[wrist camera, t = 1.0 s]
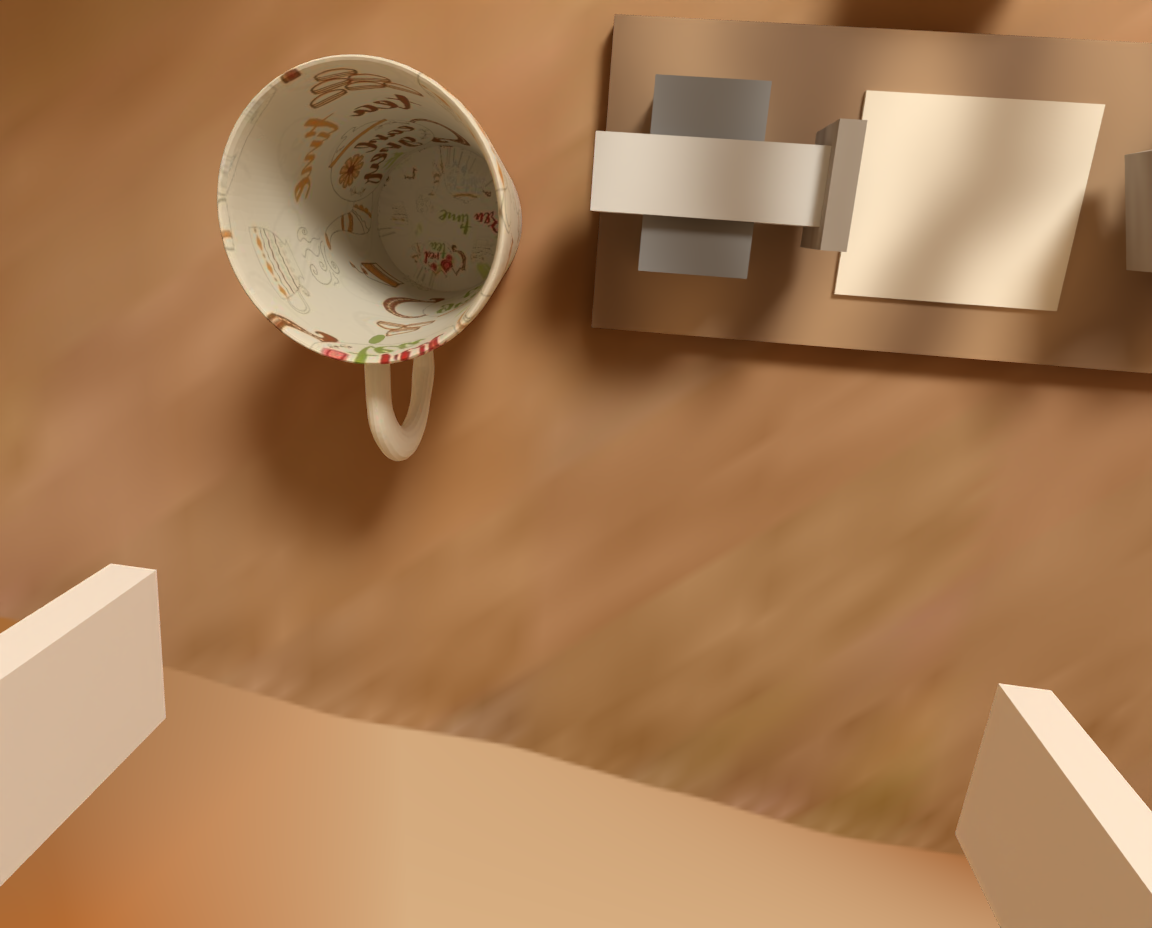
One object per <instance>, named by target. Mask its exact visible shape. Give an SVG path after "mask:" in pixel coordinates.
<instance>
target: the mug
mask: <svg viewBox="0 0 1152 928" xmlns="http://www.w3.org/2000/svg"><path fill="white" fill-rule="evenodd" d="M217 208H218V220H219V226H220V232H221V236H222V240H223V244H224V248H225V251H226V253H227V256H228V259H229V261H230V264H231V267H232V269H233V271H234V273H235V275H236V277H237V279H238V281H239V282H240V284H241V286H242V287H243V289H244V291H245V292H246V294H247V295H248V297H249V298H250V299H251V301H252V302H253V304H254V305H255V306H256V307H257V308H258V310H259V311H260V312H261V313H262V314H263V315H264V316H265V317H266V318H267V319H268V320H269V321H270V322H271V323H272V324H273V325H274V326H275V327H276V328H278V329H279V330H280V331H281V332H282V333H284V334H285V335H286V336H288V337H289V338H291V339H292V340H294V341H295V342H297V343H298V344H300V345H302V346H304V347H306V348H307V349H309V350H312V351H314V352H316V353H318V354H321V355H323V356H326V357H329V358H332V359H336V360H340V361H345V362H349V363H357V364H364V370H365V390H366V404H367V414H368V421H369V426H370V430H371V433H372V435H373V437H374V440H375V442H376V443H377V445H378V447H379V448H380V450H381V451H382V452H383V454H384V455H385V456H386V457H388V458H389V459H391V460H394V461H402V460H406V459H407V458H409V457H410V456H411V455H412V454H413V453H414V452H415V451H416V449H417V447H418V446H419V444H420V441H421V439H422V436H423V433H424V431H425V427H426V423H427V419H428V414H429V407H430V399H431V393H432V388H433V382H434V370H435V367H434V352H433V350H435V349H437V348H438V347H440V346H442V345H444V344H445V343H447V342H448V341H450V340H451V339H453V338H454V337H455V336H456V335H458V334H459V333H460V332H461V331H462V330H463V329H464V328H466V327H467V326H468V325H469V324H470V323H471V322H472V321H473V320H474V319H475V317H476V316H477V315H478V314H479V312H480V311H481V310H482V309H483V307H484V306H485V305H486V303H487V302H488V300H489V298H490V297H491V295H492V294H493V292H494V290H495V289H496V287H497V285H498V284H499V282H500V280H501V279H502V277H503V276H504V274H505V272H506V271H507V269H508V267H509V266H510V264H511V262H512V260H513V258H514V256H515V254H516V251H517V249H518V245H519V242H520V237H521V230H522V213H521V206H520V201H519V197H518V194H517V191H516V189H515V186H514V184H513V182H512V180H511V178H510V176H509V174H508V172H507V171H506V169H505V167H504V165H503V163H502V162H501V160H500V158H499V156H498V154H497V153H496V151H495V149H494V147H493V146H492V144H491V142H490V140H489V139H488V137H487V135H486V133H485V132H484V131H483V129H482V128H481V126H480V125H479V123H478V122H477V121H476V119H475V118H474V117H473V116H472V114H471V113H470V112H469V111H468V110H467V109H466V107H465V106H464V105H463V104H462V103H461V102H460V101H459V100H458V99H457V98H456V97H455V96H453V95H452V94H451V93H450V92H449V91H448V90H447V89H445V88H444V87H443V86H441V85H440V84H439V83H437V82H436V81H434V80H433V79H431V78H429V77H428V76H426V75H425V74H423V73H421V72H419V71H417V70H415V69H413V68H411V67H409V66H406V65H404V64H401V63H399V62H396V61H393V60H389V59H385V58H381V57H375V56H369V55H353V54H348V55H335V56H328V57H323V58H319V59H315V60H311V61H309V62H306V63H303V64H300V65H298V66H296V67H294V68H292V69H290V70H288V71H286V72H285V73H283V74H282V75H280V76H278V77H277V78H275V79H274V80H273V81H271V82H270V83H269V84H268V85H267V86H265V87H264V88H263V89H262V90H261V91H260V92H259V93H258V94H257V95H256V96H255V97H254V98H253V99H252V100H251V102H250V103H249V104H248V106H247V107H246V108H245V109H244V111H243V112H242V114H241V116H240V117H239V119H238V120H237V122H236V124H235V126H234V128H233V130H232V132H231V134H230V136H229V139H228V141H227V144H226V147H225V149H224V153H223V157H222V160H221V164H220V170H219V176H218V188H217ZM413 358H414V361H413V371H412V391H411V400H410V405H409V409H408V413H407V416H406V418H405V420H404V422H403V424H402V425H401V426H400V425H399V423H398V421H397V419H396V417H395V414H394V411H393V406H392V396H391V374H390V364H391V363H397V362H402V361H406V360H410V359H413Z"/></svg>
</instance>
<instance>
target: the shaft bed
mask: <svg viewBox="0 0 1152 928" xmlns="http://www.w3.org/2000/svg"><path fill="white" fill-rule="evenodd" d="M590 210H591V211H595V212H600V218H599V232H598V245H597V259H596V272H595V285H594V299H593V312H592V326H591V327H592V328H604V329H616V330H628V331H640V332H652V333H665V334H677V335H689V336H701V337H713V338H725V339H737V340H750V341H762V342H774V343H786V344H798V345H810V346H823V347H835V348H847V349H859V350H871V351H883V352H895V353H908V354H920V355H932V356H944V357H956V358H968V359H980V360H993V361H1005V362H1017V363H1029V364H1041V365H1053V366H1065V367H1078V368H1090V369H1102V370H1114V371H1126V372H1138V373H1151V374H1152V43H1144V42H1125V41H1107V40H1088V39H1069V38H1051V37H1032V36H1013V35H995V34H976V33H957V32H939V31H920V30H901V29H883V28H864V27H845V26H827V25H808V24H790V23H771V22H752V21H734V20H715V19H696V18H678V17H659V16H640V15H622V14H615V17H614V31H613V44H612V57H611V71H610V84H609V98H608V111H607V125H606V131H596V137H595V151H594V165H593V179H592V193H591V207H590Z"/></svg>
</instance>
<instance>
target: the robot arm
mask: <svg viewBox="0 0 1152 928" xmlns="http://www.w3.org/2000/svg"><path fill="white" fill-rule="evenodd" d="M165 718H166V714H165V697H164V682H163V665H162V649H161V633H160V617H159V601H158V584H157V570H154V569H146V568H139V567H132V566H124V565H117V564H110V565H108V566H106V567H105V568H103V569H102V570H100V571H98V572H97V573H95V574H94V575H92V576H91V577H89V578H87V579H86V580H84V581H83V582H81V583H80V584H78V585H76V586H75V587H73V588H72V589H70V590H68V591H67V592H65V593H64V594H62V595H61V596H59V597H57V598H56V599H54V600H53V601H51V602H50V603H48V604H46V605H45V606H43V607H42V608H40V609H39V610H37V611H35V612H34V613H32V614H31V615H29V616H27V617H26V618H24V619H23V620H21V621H20V622H18V623H16V624H15V625H13V626H12V627H10V628H9V629H7V630H5V631H4V632H2V633H1V634H0V886H1V885H2V884H3V883H4V882H5V881H6V880H7V879H8V878H9V877H10V876H11V875H12V874H13V873H14V872H15V871H16V870H17V869H18V868H19V867H20V866H21V864H23V863H24V862H25V861H26V860H27V859H28V858H29V857H30V855H32V854H33V852H34V851H36V849H37V848H38V847H39V846H40V845H41V844H42V843H43V842H44V841H45V840H46V839H47V838H48V837H49V836H50V835H51V834H52V833H53V832H54V831H55V830H56V829H57V828H58V827H59V826H60V825H61V824H62V823H63V822H64V821H65V820H66V819H67V818H68V817H69V816H70V815H71V814H72V813H73V812H74V811H75V810H76V809H77V808H78V807H79V806H80V805H81V804H82V803H83V802H84V801H85V800H86V799H87V798H88V796H90V794H92V792H93V791H94V790H95V789H96V788H97V787H98V786H99V785H100V784H101V783H102V782H103V781H104V780H105V779H106V778H107V777H108V776H109V775H110V774H111V773H112V772H113V771H114V770H115V769H116V768H117V767H118V766H119V765H120V764H121V763H122V762H123V761H124V760H125V759H126V758H127V757H128V756H129V755H130V754H131V753H132V752H133V751H134V750H135V749H136V748H137V747H138V746H139V745H140V744H141V743H142V742H143V741H144V740H145V739H146V738H147V736H148V735H149V734H150V733H151V732H152V731H153V730H154V729H155V728H156V727H157V726H158V725H159V724H160V723H161V722H162V721H163V720H164V719H165ZM955 835H956V837H957V839H958V841H959V843H960V845H961V847H962V849H963V851H964V853H965V856H966V858H967V860H968V862H969V864H970V865H971V868H972V870H973V872H974V874H975V876H976V878H977V880H978V883H979V885H980V887H981V889H982V891H983V893H984V895H985V897H986V899H987V901H988V903H989V905H990V908H991V909H992V911H993V914H994V916H995V918H996V920H997V922H998V924H999V926H1000V928H1152V811H1151V810H1150V809H1149V808H1148V807H1147V805H1146V804H1145V803H1144V802H1143V801H1142V799H1141V798H1140V797H1139V796H1138V795H1137V793H1136V792H1135V791H1134V790H1133V789H1132V787H1131V786H1130V785H1129V784H1128V783H1127V781H1126V780H1125V779H1124V778H1123V776H1122V775H1121V774H1120V773H1119V772H1118V770H1117V769H1116V768H1115V767H1114V766H1113V764H1112V763H1111V762H1110V761H1109V760H1108V758H1107V757H1106V756H1105V755H1104V754H1103V752H1102V751H1101V750H1100V749H1099V748H1098V746H1097V745H1096V744H1095V743H1094V742H1093V740H1092V739H1091V738H1090V737H1089V736H1088V734H1087V733H1086V732H1085V731H1084V729H1083V728H1082V727H1081V726H1080V725H1079V723H1078V722H1077V721H1076V720H1075V719H1074V717H1073V716H1072V715H1071V714H1070V713H1069V711H1068V710H1067V709H1066V708H1065V707H1064V705H1063V704H1062V703H1061V702H1060V701H1059V699H1058V698H1057V697H1056V696H1055V695H1054V693H1053V692H1052V691H1051V690H1044V689H1036V688H1029V687H1021V686H1014V685H1006V684H999V683H998V687H997V690H996V694H995V697H994V701H993V704H992V708H991V711H990V715H989V718H988V722H987V725H986V728H985V732H984V735H983V739H982V742H981V746H980V749H979V753H978V756H977V760H976V763H975V766H974V770H973V773H972V777H971V780H970V784H969V787H968V791H967V794H966V798H965V801H964V804H963V808H962V811H961V815H960V818H959V822H958V825H957V829H956V832H955Z"/></svg>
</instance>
